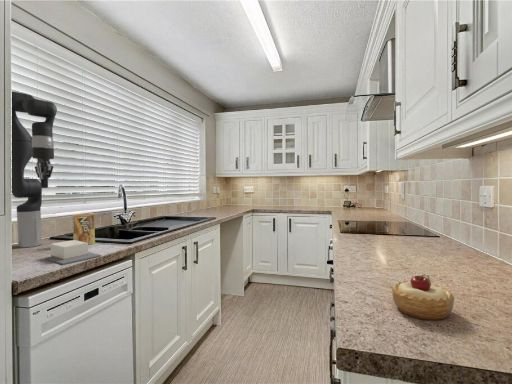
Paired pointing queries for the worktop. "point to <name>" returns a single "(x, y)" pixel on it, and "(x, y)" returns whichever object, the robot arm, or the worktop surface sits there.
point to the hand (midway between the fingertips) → (44, 187)
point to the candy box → (84, 228)
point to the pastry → (422, 299)
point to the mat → (73, 260)
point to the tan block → (69, 249)
